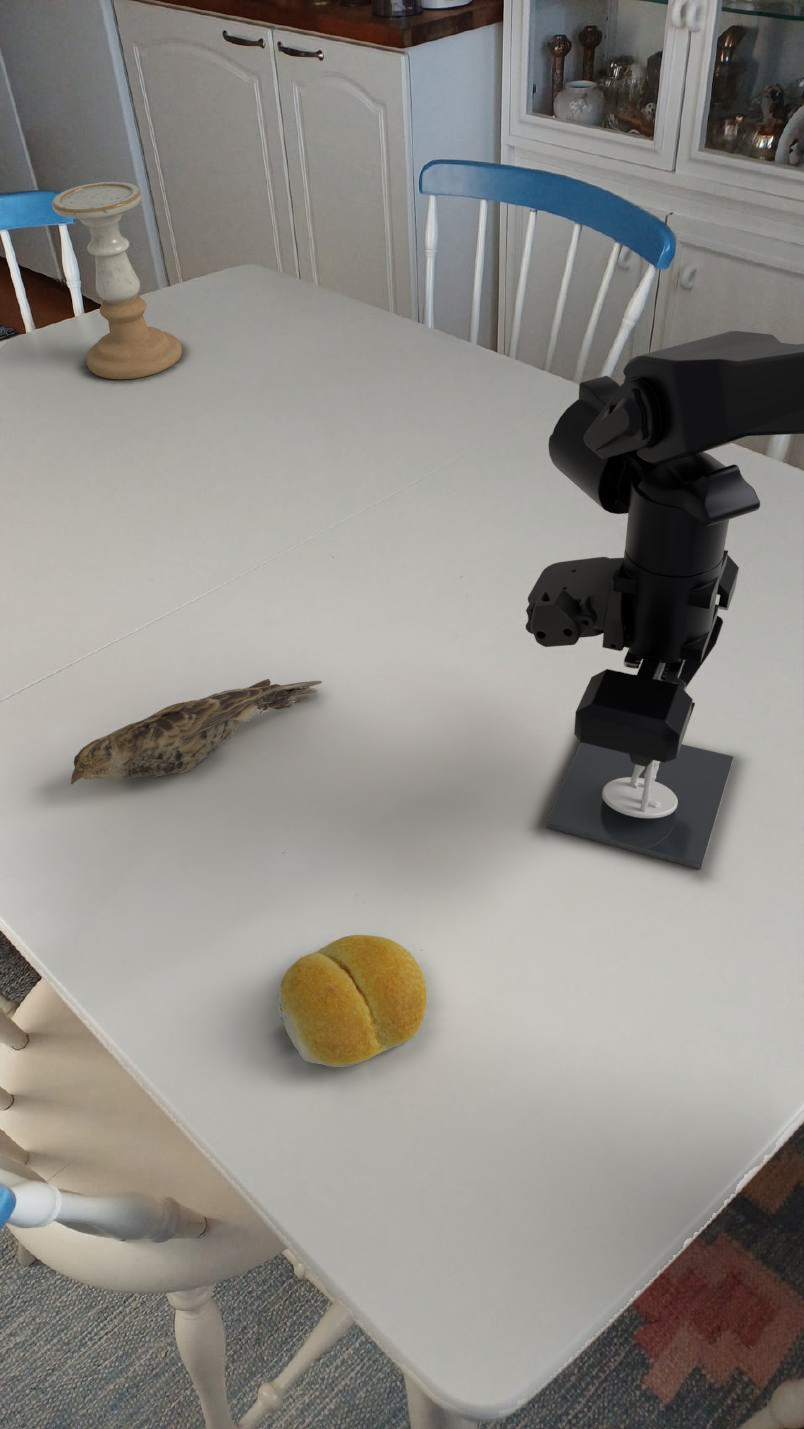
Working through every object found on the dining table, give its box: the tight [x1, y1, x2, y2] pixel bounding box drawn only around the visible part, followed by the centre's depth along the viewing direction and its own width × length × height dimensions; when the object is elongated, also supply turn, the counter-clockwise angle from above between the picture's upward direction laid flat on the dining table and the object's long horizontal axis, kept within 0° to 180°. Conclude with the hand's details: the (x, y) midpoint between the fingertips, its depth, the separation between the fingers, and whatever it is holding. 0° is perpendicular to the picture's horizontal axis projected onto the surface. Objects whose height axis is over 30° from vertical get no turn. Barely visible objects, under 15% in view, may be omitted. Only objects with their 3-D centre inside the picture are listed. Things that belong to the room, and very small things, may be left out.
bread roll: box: [277, 934, 428, 1068], centre depth 66 cm, size 8×9×4 cm
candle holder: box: [51, 181, 183, 380], centre depth 133 cm, size 12×12×20 cm
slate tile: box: [545, 742, 734, 870], centre depth 78 cm, size 11×11×1 cm
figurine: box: [602, 663, 678, 818], centre depth 74 cm, size 5×5×12 cm
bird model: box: [69, 678, 323, 786], centre depth 83 cm, size 21×6×5 cm
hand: (649, 738), depth 75 cm, fingers closed on figurine, 5 cm apart
